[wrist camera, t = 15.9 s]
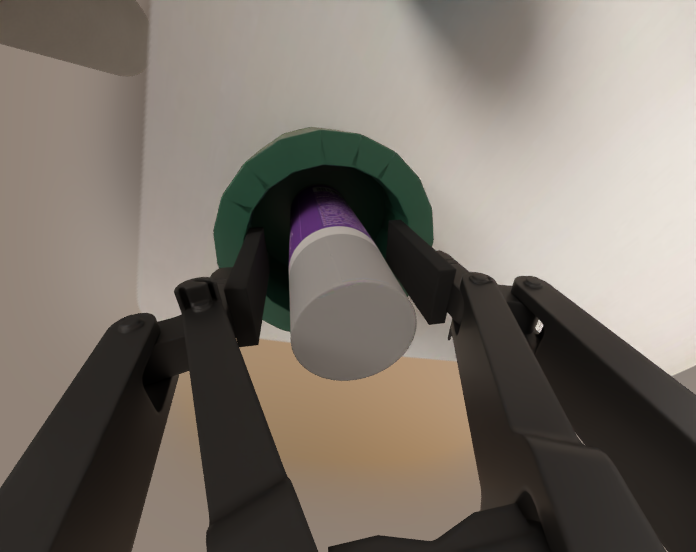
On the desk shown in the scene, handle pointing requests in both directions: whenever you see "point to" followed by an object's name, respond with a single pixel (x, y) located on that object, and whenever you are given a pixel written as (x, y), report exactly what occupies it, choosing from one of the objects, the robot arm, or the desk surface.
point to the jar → (307, 169)
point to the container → (342, 292)
